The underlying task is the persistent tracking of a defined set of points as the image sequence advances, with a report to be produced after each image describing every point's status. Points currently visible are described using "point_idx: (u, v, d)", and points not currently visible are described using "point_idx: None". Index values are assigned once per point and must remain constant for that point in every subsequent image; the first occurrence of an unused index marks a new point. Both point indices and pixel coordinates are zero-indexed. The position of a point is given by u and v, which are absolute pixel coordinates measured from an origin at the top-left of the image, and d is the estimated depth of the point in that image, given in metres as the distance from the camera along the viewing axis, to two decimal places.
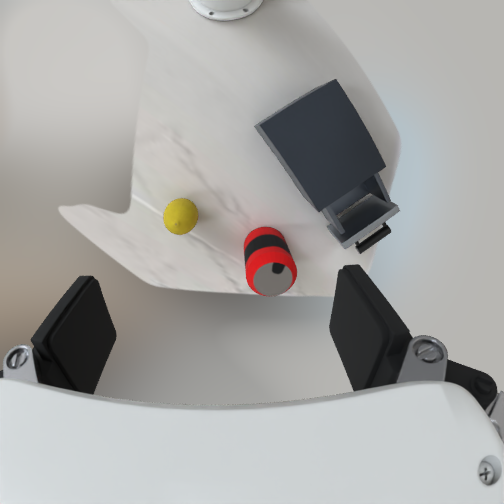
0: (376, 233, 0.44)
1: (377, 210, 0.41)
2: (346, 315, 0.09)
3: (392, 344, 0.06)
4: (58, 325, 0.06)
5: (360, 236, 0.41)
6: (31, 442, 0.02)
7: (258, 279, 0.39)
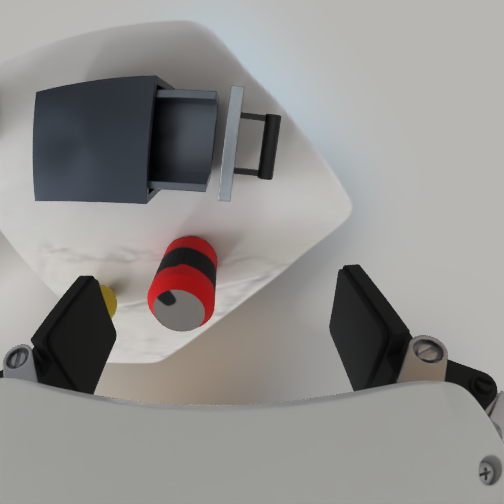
0: (263, 137, 0.27)
1: None
2: (346, 315, 0.09)
3: (392, 344, 0.06)
4: (58, 325, 0.06)
5: (229, 168, 0.25)
6: (31, 442, 0.02)
7: (167, 321, 0.28)
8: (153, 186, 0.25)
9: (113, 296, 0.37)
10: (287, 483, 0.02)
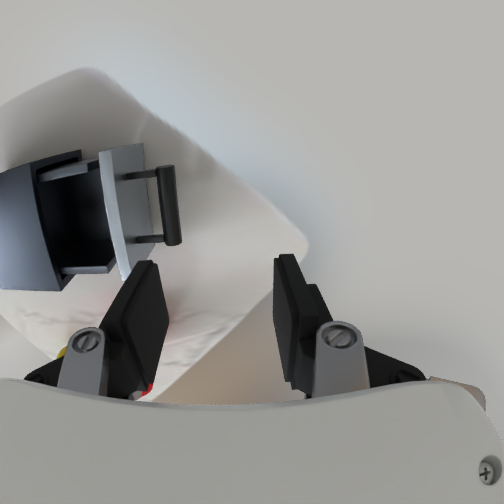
0: None
1: None
2: (278, 301, 0.10)
3: (302, 327, 0.07)
4: (130, 305, 0.07)
5: (121, 247, 0.21)
6: (31, 442, 0.02)
7: None
8: (64, 272, 0.22)
9: None
10: (287, 483, 0.02)
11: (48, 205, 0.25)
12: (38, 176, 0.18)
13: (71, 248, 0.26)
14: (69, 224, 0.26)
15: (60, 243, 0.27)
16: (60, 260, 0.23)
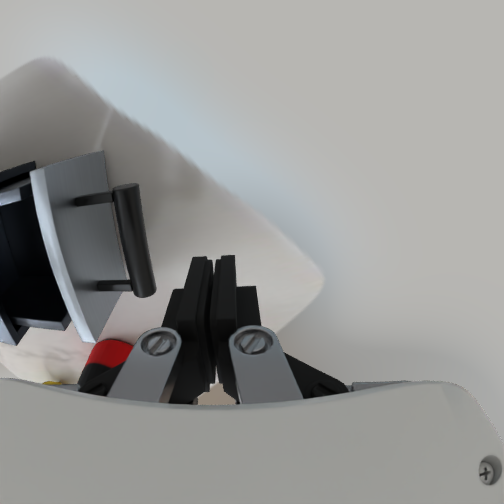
0: None
1: None
2: None
3: (219, 329, 0.07)
4: (201, 303, 0.08)
5: (74, 303, 0.14)
6: (31, 442, 0.02)
7: None
8: (17, 322, 0.14)
9: None
10: (287, 483, 0.02)
11: (2, 232, 0.17)
12: None
13: (29, 286, 0.18)
14: (26, 255, 0.19)
15: (20, 276, 0.20)
16: (14, 305, 0.16)
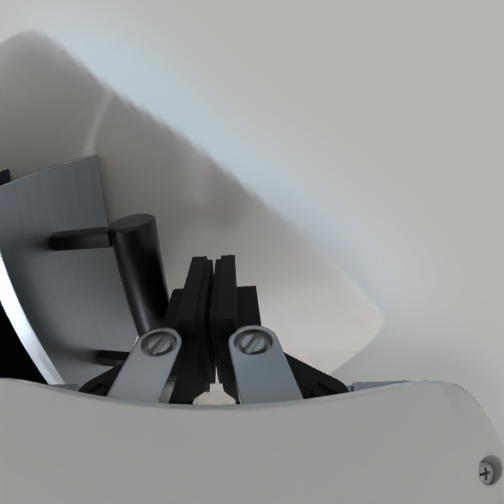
0: None
1: None
2: None
3: (219, 329, 0.07)
4: (201, 303, 0.08)
5: None
6: (31, 442, 0.02)
7: None
8: None
9: None
10: (287, 483, 0.02)
11: None
12: None
13: (11, 334, 0.13)
14: None
15: (2, 316, 0.14)
16: None
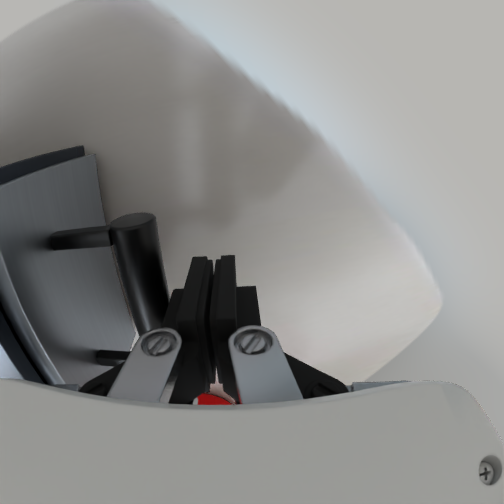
0: None
1: None
2: None
3: (219, 329, 0.07)
4: (201, 303, 0.08)
5: None
6: (31, 442, 0.02)
7: None
8: None
9: None
10: (287, 483, 0.02)
11: None
12: None
13: None
14: None
15: None
16: None
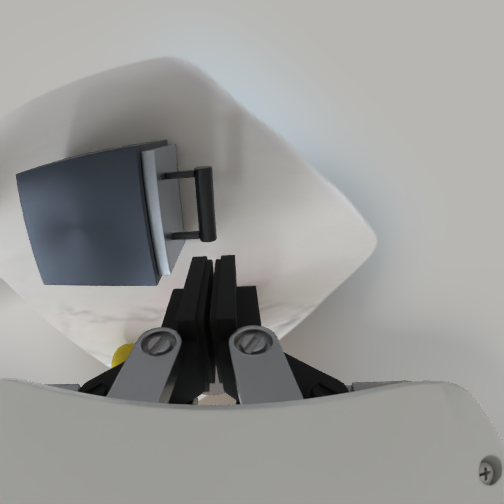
0: (196, 196, 0.24)
1: None
2: None
3: (219, 329, 0.07)
4: (200, 303, 0.08)
5: (160, 243, 0.23)
6: (31, 442, 0.02)
7: None
8: None
9: None
10: (287, 483, 0.02)
11: None
12: None
13: None
14: None
15: None
16: None
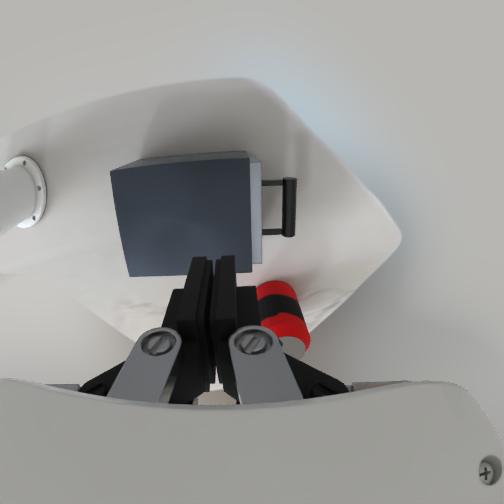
0: (283, 200, 0.31)
1: None
2: None
3: (219, 329, 0.07)
4: (201, 303, 0.08)
5: (258, 237, 0.30)
6: (31, 442, 0.02)
7: None
8: None
9: None
10: (287, 483, 0.02)
11: None
12: None
13: None
14: None
15: None
16: None
